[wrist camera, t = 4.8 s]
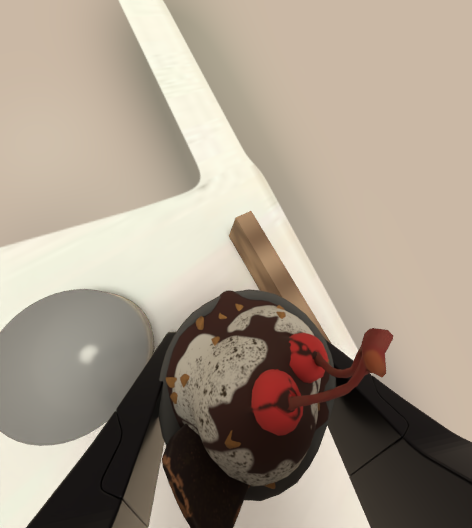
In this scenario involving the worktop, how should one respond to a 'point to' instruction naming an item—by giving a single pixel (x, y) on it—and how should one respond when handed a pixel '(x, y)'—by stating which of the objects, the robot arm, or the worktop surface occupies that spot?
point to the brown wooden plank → (266, 264)
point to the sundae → (249, 401)
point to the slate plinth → (69, 364)
